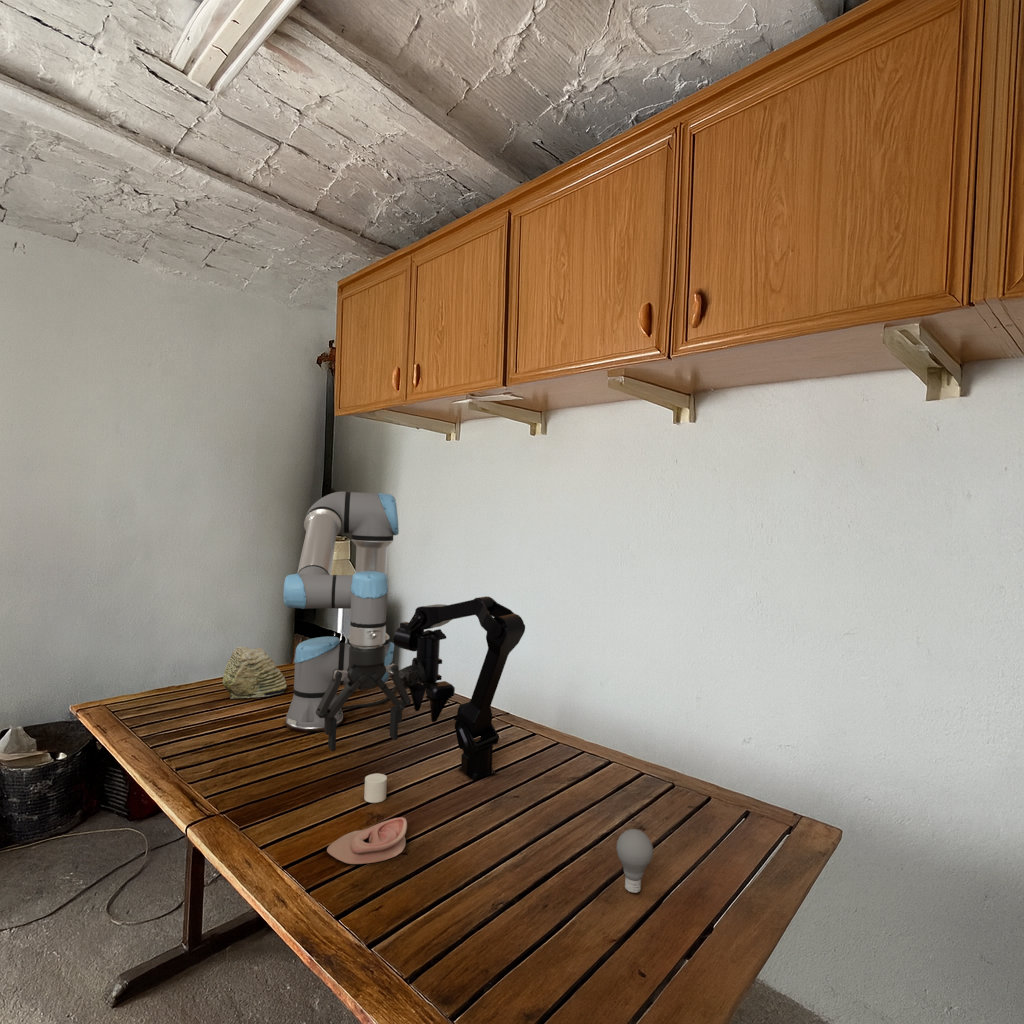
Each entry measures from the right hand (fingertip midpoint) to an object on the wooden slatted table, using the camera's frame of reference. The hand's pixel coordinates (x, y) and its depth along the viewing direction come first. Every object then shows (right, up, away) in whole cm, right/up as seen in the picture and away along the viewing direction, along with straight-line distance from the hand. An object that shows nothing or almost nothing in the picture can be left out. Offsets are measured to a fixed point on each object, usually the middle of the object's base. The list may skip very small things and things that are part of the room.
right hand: (425, 716), depth 160 cm
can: (-7, -9, -26) cm, 28 cm away
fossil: (-59, -6, +38) cm, 70 cm away
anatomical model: (-4, -10, -45) cm, 47 cm away
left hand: (-10, +2, -25) cm, 27 cm away
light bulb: (+42, -12, -55) cm, 70 cm away
